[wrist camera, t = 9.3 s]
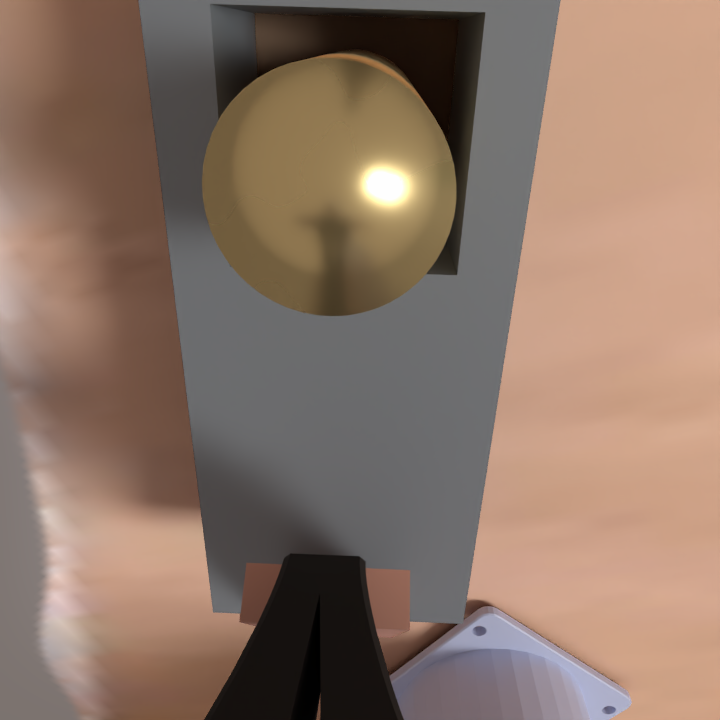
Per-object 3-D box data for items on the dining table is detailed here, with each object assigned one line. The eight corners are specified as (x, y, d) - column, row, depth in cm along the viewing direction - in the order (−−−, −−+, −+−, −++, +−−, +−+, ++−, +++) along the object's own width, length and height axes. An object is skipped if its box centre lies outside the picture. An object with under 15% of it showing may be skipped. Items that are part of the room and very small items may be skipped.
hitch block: (449, 523, 21) (462, 624, 17) (242, 513, 21) (213, 611, 17) (520, -43, 13) (572, -74, 10) (196, -52, 13) (127, -86, 10)
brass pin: (367, 215, 16) (353, 357, 9) (264, 136, 15) (156, 221, 8) (448, 110, 15) (511, 176, 7) (340, 17, 14) (295, -8, 7)
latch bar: (393, 597, 17) (392, 637, 16) (282, 592, 17) (278, 632, 16) (410, 570, 11) (409, 629, 11) (246, 562, 11) (239, 622, 11)
